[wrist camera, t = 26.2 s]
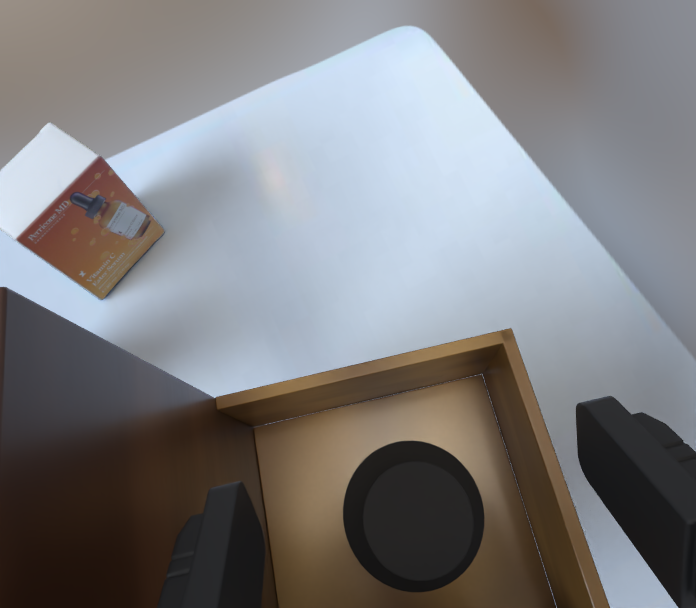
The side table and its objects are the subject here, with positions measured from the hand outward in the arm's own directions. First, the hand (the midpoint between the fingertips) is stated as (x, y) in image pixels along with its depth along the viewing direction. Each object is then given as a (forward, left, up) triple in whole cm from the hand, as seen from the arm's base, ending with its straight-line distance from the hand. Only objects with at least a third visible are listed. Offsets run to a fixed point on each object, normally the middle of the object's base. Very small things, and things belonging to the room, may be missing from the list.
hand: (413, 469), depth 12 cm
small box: (+20, -24, -25) cm, 39 cm away
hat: (0, +1, -15) cm, 15 cm away
